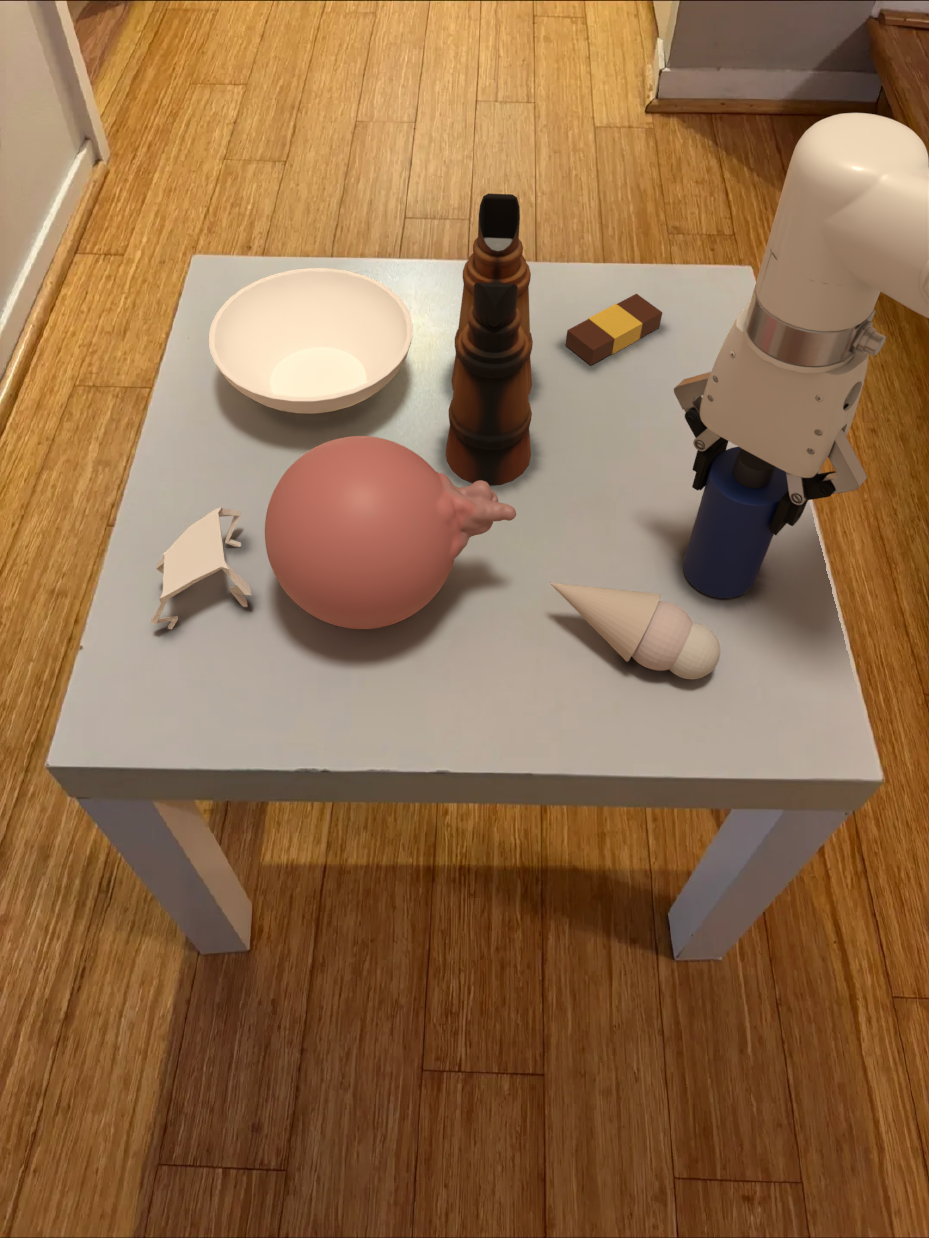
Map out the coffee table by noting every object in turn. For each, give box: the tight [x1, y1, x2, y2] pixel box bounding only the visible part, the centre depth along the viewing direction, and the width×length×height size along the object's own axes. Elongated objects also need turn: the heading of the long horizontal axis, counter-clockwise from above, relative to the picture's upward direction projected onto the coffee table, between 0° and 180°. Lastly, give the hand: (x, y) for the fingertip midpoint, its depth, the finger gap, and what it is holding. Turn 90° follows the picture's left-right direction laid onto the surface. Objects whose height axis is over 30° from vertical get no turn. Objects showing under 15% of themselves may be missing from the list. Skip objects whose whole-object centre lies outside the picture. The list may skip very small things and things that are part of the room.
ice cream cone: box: [549, 582, 721, 680], centre depth 80 cm, size 6×6×15 cm
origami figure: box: [150, 506, 252, 630], centre depth 83 cm, size 12×8×5 cm
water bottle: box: [682, 446, 788, 599], centre depth 81 cm, size 6×6×14 cm
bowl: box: [208, 267, 414, 414], centre depth 97 cm, size 20×20×7 cm
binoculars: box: [445, 193, 534, 486], centre depth 89 cm, size 18×8×20 cm, turn 177°
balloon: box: [264, 435, 517, 630], centre depth 79 cm, size 15×20×15 cm
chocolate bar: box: [565, 293, 663, 366], centre depth 104 cm, size 10×4×2 cm, turn 128°
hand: (743, 500), depth 79 cm, fingers closed on water bottle, 6 cm apart
